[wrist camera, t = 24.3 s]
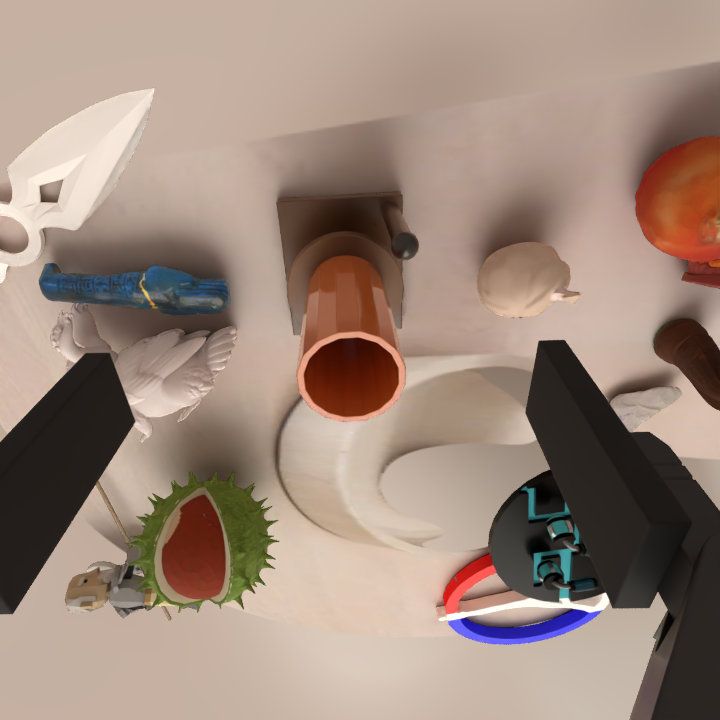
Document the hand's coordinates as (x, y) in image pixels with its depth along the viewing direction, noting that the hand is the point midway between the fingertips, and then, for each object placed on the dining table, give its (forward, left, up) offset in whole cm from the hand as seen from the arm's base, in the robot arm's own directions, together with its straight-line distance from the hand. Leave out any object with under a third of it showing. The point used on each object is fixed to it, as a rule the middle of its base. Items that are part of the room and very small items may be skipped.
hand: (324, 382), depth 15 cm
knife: (+23, 0, -28) cm, 36 cm away
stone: (-32, +23, -28) cm, 48 cm away
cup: (-1, +6, -22) cm, 22 cm away
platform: (-28, +43, -26) cm, 57 cm away
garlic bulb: (-15, +7, -28) cm, 33 cm away
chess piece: (-33, +16, -28) cm, 46 cm away
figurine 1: (+16, +7, -28) cm, 33 cm away
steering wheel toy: (-23, +57, -28) cm, 68 cm away
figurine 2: (+14, +17, -23) cm, 32 cm away
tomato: (-28, +2, -28) cm, 40 cm away
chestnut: (+8, +34, -23) cm, 42 cm away
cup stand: (-1, +6, -28) cm, 28 cm away
